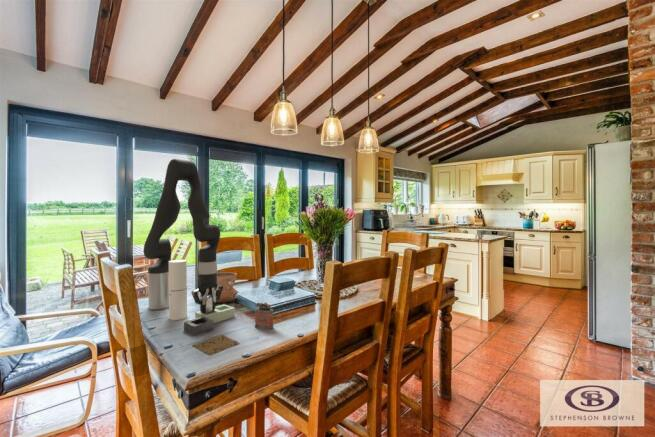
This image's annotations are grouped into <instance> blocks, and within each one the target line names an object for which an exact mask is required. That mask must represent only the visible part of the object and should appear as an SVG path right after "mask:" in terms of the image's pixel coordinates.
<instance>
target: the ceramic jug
mask: <svg viewBox="0 0 655 437" xmlns="http://www.w3.org/2000/svg"><path fill="white" fill-rule="evenodd" d="M236 280H237V272H229V271H228V272H227V271H225V272H224V271H223V272H222V271H221V272H217V285H220V286H223V290H222V293H221V296H220V299H219V300H217V301H216V303H218V304H227V303H231V302H233V301H235V295H236V294H237V293H239V294H240V292H239V291H238V289H236V288H234V285H235V283H236ZM215 294H216V290H215Z"/></svg>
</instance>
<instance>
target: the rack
mask: <svg viewBox="0 0 655 437" xmlns="http://www.w3.org/2000/svg"><path fill="white" fill-rule="evenodd" d="M215 307H216V308H215V310H214V311H213V313H210V314H207V315H205V314H203V313H202V312H201V311H200V310H198V311H196V312H195V314H194V315H195V318H194V319H196V318H199V317H206V318H208V319H210V320H213V321H214V324H215V323H219V322H223V321H225V320H229V319H232V318H234V317H236V316H235V313H236V312H235V311H236V310H235V309H236V308H235V307H233V306H230V305H227V304H226V303H223V304H219V305H215Z"/></svg>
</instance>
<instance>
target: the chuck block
mask: <svg viewBox="0 0 655 437" xmlns="http://www.w3.org/2000/svg"><path fill="white" fill-rule="evenodd" d="M214 324H215V323H214V321H213V320H210V319H208V318H206V317H199V318H196V319H195V318H192V319H189V320H185V321H183V331H184V332H186V333H188V334H190V335H192V336H194V337H196V336H199V335H202V334H204V333H207V332H210V331H214V328H215V326H214Z"/></svg>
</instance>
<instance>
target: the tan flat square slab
mask: <svg viewBox="0 0 655 437" xmlns="http://www.w3.org/2000/svg"><path fill="white" fill-rule="evenodd" d="M238 345H240V342H239V341H237V340H235V339H232V338H229V337H228V336H226V335H224V334H221V335H218V336H217V335H216V336H215V337H212V338H210V339H209V338H208V339H205V340H203V341H200V342H197V343H194V344H191V346H192V347H193V348H195V349H197V350H198V351H201V352H202V353H204V354H205V355H208V356H213V355H214V354H217V353H218V354H219V353H220V352H223V351H225V350H228V349H230V348H232V347H235V346H238Z"/></svg>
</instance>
